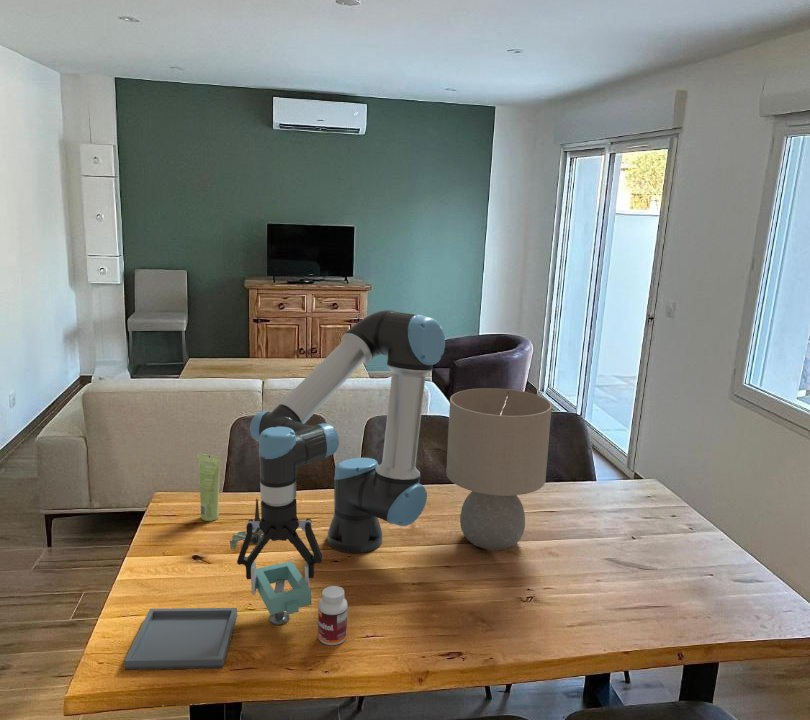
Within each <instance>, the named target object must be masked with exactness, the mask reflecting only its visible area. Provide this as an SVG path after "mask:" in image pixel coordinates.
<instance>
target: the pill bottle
mask: <svg viewBox="0 0 810 720" xmlns="http://www.w3.org/2000/svg"><path fill="white" fill-rule="evenodd" d="M317 607H318V610H317V612H318V614H317V615H318V616H317V618H318V619H317V620H318V622H317V626H318V627H317V638H318V640H319V641H320V643H322V644H324V645H327V646H337V645H340V644H342V643H343V642H345V641H346V639H347V635H348V601H347V599H346V597H345V590H344V588H343V587H340V586H339V585H330V586H327V587H325V588H324V589H322V591H321V599H320V600H319V601H318V606H317Z"/></svg>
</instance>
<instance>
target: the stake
mask: <svg viewBox="0 0 810 720" xmlns="http://www.w3.org/2000/svg"><path fill="white" fill-rule="evenodd" d="M285 581H286V580H285V579H277V580H276V583H275V586H274V589H273V590H274V591H275V593H281V592H285V585H286V583H285ZM268 618H269V619H268V620H269V622H270V624H271V625H275V626H281V625H285V624H287V623H288V622H289V620H290V614H289V615H288V614H287V613H286V611H284V612H280V613H276V614H272V615H270V614H269V617H268Z"/></svg>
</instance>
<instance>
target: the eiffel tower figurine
mask: <svg viewBox="0 0 810 720" xmlns="http://www.w3.org/2000/svg"><path fill="white" fill-rule="evenodd" d="M260 520H261V518H260V509H259V499H258V498H256V499H255V510H254V520H253V521H260ZM246 534H247V530H243V531H242V530H241V531H238V532H236V533H234V534H233V535H232V537H231V540H230V542H229V544H230V548H231V550H233V549H235V550H236V549H237V546H238V544H239V543H238V542H240V541H243V542H244V540H245V537H246ZM263 534H264V532H263V531H262V530H261V529H260V527H258V528H257V530H256V531H255V532H253V534H252V537H251V540H250V543H249V544H253V545H255V546H256V545H257V543H258V542H259V540H260V539H261V537H262V536H263Z"/></svg>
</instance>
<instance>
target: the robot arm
mask: <svg viewBox="0 0 810 720" xmlns="http://www.w3.org/2000/svg"><path fill="white" fill-rule="evenodd" d="M340 339H341V340H340V343H339V344H338V345H337V346H336V347H335V348H334V349H333V350H332V351H331V352H330V353H329V354H328V355H327V356H326V357H325V358H324V359H323V360H322V361H321V362H320V363H319V364H318V365H317V366H316V367H315V368H314V369H313V370H312V371H311V372H310V373H309V374H308V375H307V376H306V377H305V378H304V379H303V380H302V381H301V382H300V383H299V384H298V385H297V386H296V387H295V388H294V389H293V390H291V392H290V393H289V394H288V395H287V396H286V397H285V398H284V399H283V400H282V401H281V402H280V403H279V404H278V405H277V406H276V407H275V408H274V409H272V411H267V410H264V411H260V412H258V413H256V414H255V415H254V416H253V418H252V419H251V422H250V425H249V431H250V432H249V433H250V436H251V438H252V439H253V440H254V441H256V442H257V443H258V457H259V459H258V460H259V478H260V481H259V485H260V486H259V487H260V491H259V492H260V500H261V501H260V515H261V518H260V521H254V520H253V519H248V521H247V523H246V526H245V528H246V530H245V531H247V534H246V537H245V539H244V541H243V543H242V546H241V548H240V551H239V554H238V558H237V560H236V564H237V565H239V566H241V565H242V566H245V577H246V580H250V581H251V582H250V583H251V584H250V585H251V589H250V590H251V595H252V596H255V595H256V593H257V579H256V569H257V562H256V559H257V557H258V556H259V554H260V553H261V552H262V550H263V549H264V547H265V546H266V545H267V544H268V542H269V541H270V540H271V541H272V542H274V541H275V542H277V541H282V542H283V541H284V542H285V541H287V540H288V541H289V543H290V544H292V545H293V546H294V548H295V550H297V552H298V553H299V555H300V556H301V558H303V560H304V562H305V563H304V580H305V581H306V583H307V584H308V586H309V587H310V579H313V578H314V576H315V565H316V564H321V563H322V562H323V561H322V560H323V553H322V551H321V547H320V545H319V544H318V541H317V537H316V536H315V533H314V531H313V528H312V519H311V518H306V519H305V520H299V518H298V517H297V514H298V512H297V511H298V510H297V508H298V507H297V498H296V497H297V469H298V468H301V467H303V466H306V465H310V464H312V463H315V462H318V461H320V460H324V459H326V458H328V457H329V456H332V455H334V454H335V453H336V452H337V451H338V449H339V446H340V437H339V433H338V431H337V429H336V428H335V427H334V426H333V425H332V424H329V423H327V422H325V423H324V422H322V423H318V424H317V423H316V424H315V425H309V424H307V421H309V419H310V418H311V417H312V416H313V415H314V414H315V413H316V412H318V410H319V409H320V408H321V407H323V405H324V404H325V403H326V402H327V401H328V400H329V398H331V396H332V395H333V394H335V393H336V391H337V390H339V388H340V387H342V385H343V384H344V383H345V382H346V381H347V380H348V379H349V378H350V377H351V376H352V375H353V374H354V373H355V372H356V371H357V370H358V369H359V368H360V367H361V366H362V364H368V363H369V362H371V361H372V359H374V357H377V356H380V355H382V356H386V357H387V362H386V367H387V368H388V369H389V370H390V372H391V377H390V378H391V379H390V389H389V397H388V398H389V399H388V404H387V405H388V407H387V415H386V416H387V417H386V424H385V434H384V442H383V453H382V461H381V463H380V464H379V463H378V460H376V459H374V458H371V457H354V458H349V459H345V460H342V461H340V462H339V463H338V464H337V465H336V466H335V469H334V477H333V481H334V485H333V487H334V490H333V491H334V492H333V494H334V495H333V496H334V503H333V504H334V506H333V507H334V512H333V517H332V518H331V522H330V525H329V528H328V530H327V544H328V545H329V546H330V547H331V548H333V549H334V550H336V551H339V552H342V553H346V554H347V553H348V554H362V553H369V552H371V551H374V550H376V549H378V548H379V547H380V546H381V545H382V543H383V530H382V526H381V523H380V521H379V519H381V520H383V521H385V522H387V523H389V524H390V525H396V526H399V527H407V526H409V525H411V524H413V523H414V522H416V521H417V520H418V519H419V517H420V516H421V515H422V513H423V511H424V509H425V507H426V505H427V499H428V492H427V490H426V487H425V486H424V485H423V484H422V483H420V478H421V472H420V470H418V469H417V467H416V461H417V454H418V445H419V435H420V428H421V418H422V412H423V411H422V410H423V402H424V393H425V385H426V384H425V383H426V377H427V375H429V374H430V373H431V372H432V371H433V368H434V367H433V365H436V364H437V363H439V362H440V361H441V359H442V356H443V355H444V353H445V348H446V338H445V333H444V330H443V327H442V326H441V324H440V322H438V321H437V320H436V319H435V318H432V317H429V316H425V315H424V314H415V313H410V312H409V313H407V312H402V311H400V312H399V311H395V310H389V309H387V310H379V311H377V312H373V313H371V314H369V315H367V316H365V317H364V318H362V319H361V320H359V321H358V322H356V323H355V324H353V325H352V326H351V327H350V328H349V329H348V330H347V331H346V332H345V333H344V334H342V336H341V338H340ZM258 527H260V529H261V530H262V531H263V532H264V534H262V535H263V536H262V537H261V539H260V540H259V542H258V543H257V545H256V544H255V546H254V547H253V549H252V550H251V552H250V554H249V555H248V556H246V554H247V552H248V548H249V545H250V544H251V543H250V540H251V537H252V534H253V532H255V531H256V530H257V528H258ZM299 528H301V530H302V531H303V532H304V533H305V534H304V535H305V536H306V537H305V538H306V539H307V542H308V543H309V547H310V549H311V550H310V549H309V548H308V547H307V546H306V544H305V543H304V542H303V540H302V539H301V538H300V536H299V534H298V533H297V530H298V529H299ZM311 551H312V552H311Z"/></svg>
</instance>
